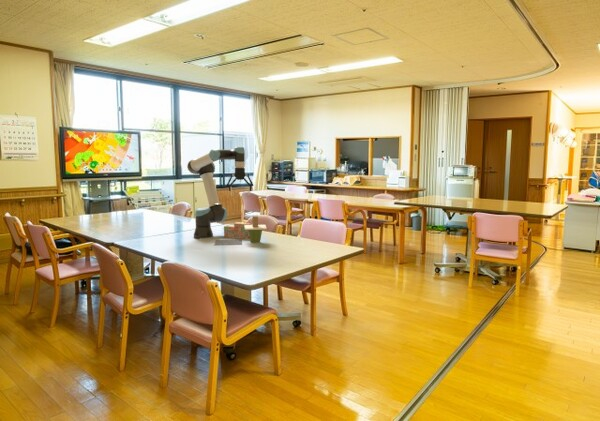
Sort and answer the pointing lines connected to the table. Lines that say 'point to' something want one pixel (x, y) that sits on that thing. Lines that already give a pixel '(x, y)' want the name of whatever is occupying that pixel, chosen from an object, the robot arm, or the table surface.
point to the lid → (255, 224)
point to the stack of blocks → (237, 230)
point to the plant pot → (255, 235)
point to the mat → (228, 242)
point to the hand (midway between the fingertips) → (240, 195)
